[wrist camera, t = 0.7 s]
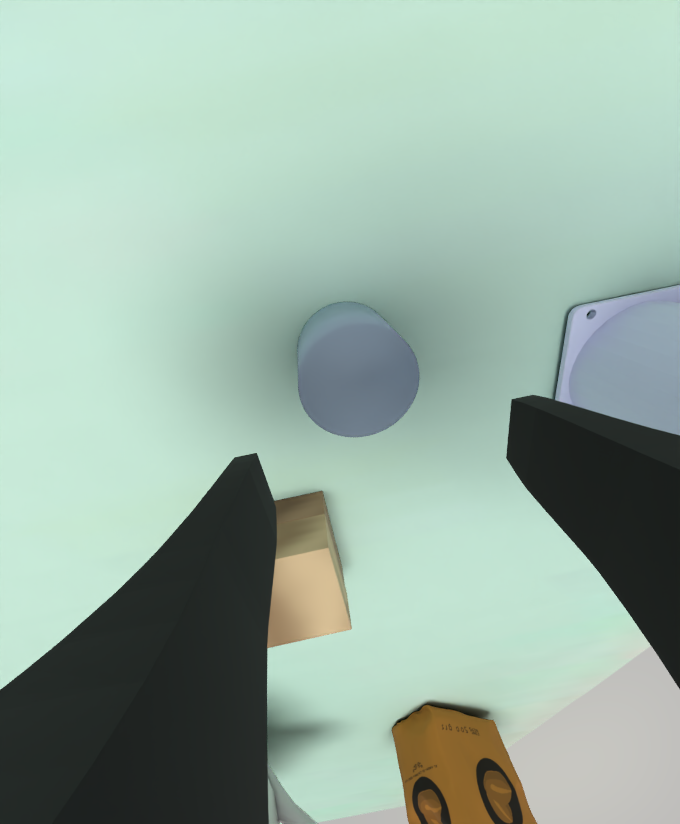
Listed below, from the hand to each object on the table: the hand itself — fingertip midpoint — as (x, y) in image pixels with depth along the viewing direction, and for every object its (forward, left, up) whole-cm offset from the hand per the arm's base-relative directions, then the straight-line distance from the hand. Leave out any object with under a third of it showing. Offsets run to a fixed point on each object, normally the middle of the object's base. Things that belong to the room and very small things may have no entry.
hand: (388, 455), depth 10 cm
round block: (0, 0, -9) cm, 9 cm away
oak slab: (+7, +13, -7) cm, 17 cm away
